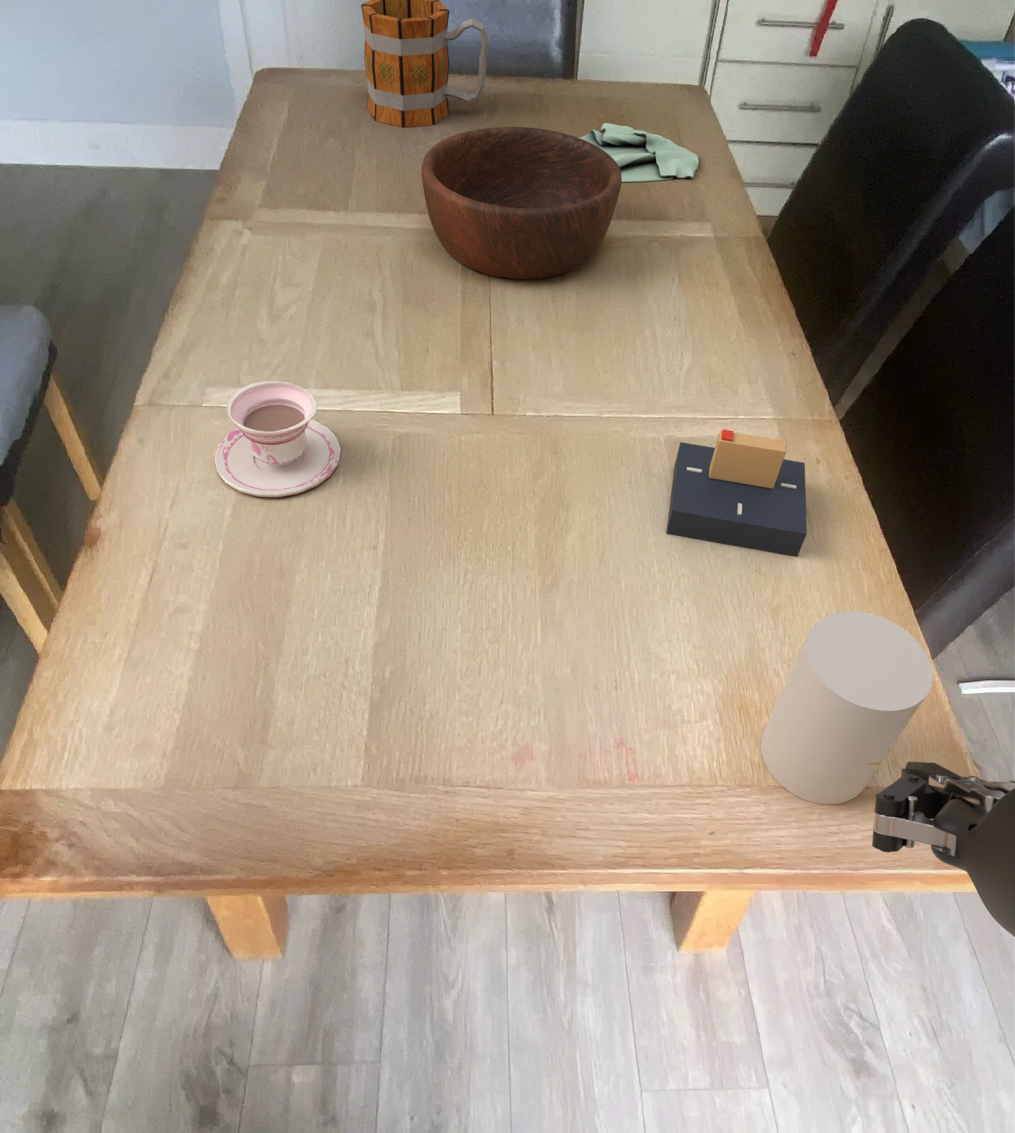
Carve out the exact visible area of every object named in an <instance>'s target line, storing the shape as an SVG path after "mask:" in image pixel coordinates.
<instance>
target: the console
mask: <svg viewBox="0 0 1015 1133" xmlns="http://www.w3.org/2000/svg"><path fill="white" fill-rule="evenodd" d="M714 450H715V447H712V446H707V445H700V444H694V443H689V442H682V441H680V442H679V444H678V450H677V453H676V454H677V455H676V459H675V462H674V466H673V467H674V468H673V474H672V475H673V477H672V484H671V493H670V500H669V509H668V517H667V526H666V531H665V532H666V534H667V535H672V536H679V537H684V538H689V539H690V538H691V539H694V540H701V541H707V542H712V543H717V544H718V543H719V544H724V545H729V546H735V547H740V548H746V549H752V550H757V551H763V552H769V553H775V554H780V555H786V556H791V557H798V556H799V554H800V551H801V550H802V547H803V544H804V542H805V539H806V538H807V534H808V530H807V529H808V527H807V526H808V525H807V524H808V523H807V495H806V494H807V492H806V464H805V462H802V461H797V460H791V459H786V458H784V460H783V463H782V465H781V468H780V471H779V474H778V477H777V480H776V482H775V485H774V488H773V489H771V488H766V487H760V486H754V485H748V484H742V483H736V482H730V481H724V480H718V479H713V478H709V469H710V464H711V461H712V457H713V453H714Z"/></svg>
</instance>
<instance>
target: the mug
mask: <svg viewBox="0 0 1015 1133" xmlns="http://www.w3.org/2000/svg"><path fill="white" fill-rule="evenodd" d="M360 8H361V14H362V21H363V32H364V66H365V73H366V81H367V84H366V85H367V103H366V105H367V106H366V108H367V110H368V112H369V114H370V116H371V117H372V118H373V120H374V121H375V122H379V123H382V124H383V123H384V124H388V125H391V126H394V127H400V128H413V127H423V126H424V127H425V126H432V125H436V124H437V123H439V122H440V121H442V120H443V119H444V118H446V117H447V116H448V115H450V108H449V101H448V100H449V99H448V97H449V98H455V99H458V100H460V101H464V102H465V103H470V102H472V101H474V100H478V99H479V98H480V96H481V94H482V92H483V90H484V88H485V84H486V74H487V58H488V57H487V56H488V50H489V42H490V41H489V37H488V34H487V31H486V26H485V24H484V23H482V22H480V21H479V20H477V19H476V18H470V19H467V20H464V21H462V22H461V23H460V24H458V26H457V27H456V28H455V29H454V30H452V31H449V30H448V27H449V19H450V10H449V9H448V7H446V6H445V4H443V2H442V1H441V0H368V1H365V2H363V3H361V4H360ZM470 28H474V29H476V30H477V31H479V33H480V39H481V45H480V50H479V56H478V75H477V85H476V88H475V90H474V91H472V92H469V93H467V92H465V91H463V90H460V89H458V88H453V87H449V86H448V80H449V71H450V70H449V69H450V57H449V46H448V44H449V43H448V42H449V41H455V40H457V39H458V38H459V37H460V36H461V35H462V34H463V33H464V32H465V31H466V30H468V29H470Z"/></svg>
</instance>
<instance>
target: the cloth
mask: <svg viewBox="0 0 1015 1133" xmlns="http://www.w3.org/2000/svg"><path fill="white" fill-rule="evenodd" d="M603 130H604V133H601V131H603ZM579 138H580V139H583V140H585V141H588V142H590V143H592V144H594V145H596V146H598V147H599V148H601V149H602V150H604V151H605V152H606V153H608V154H609V155H610V156H611V157H612V158H613V159H614V160H615V161H616V163H617V164H618V166H619V168H620V171H621V177H622V183H640V182H642V183H644V182H661V181H669V180H672V179H673V178H674V177H676V178H677V179H688V180H692V179H694V177H695V174H696V172H697V170H698V167H699V165H700V159H699V155H698V154H696V153H694V152H692V151H691V150H688V149H687V148H686V147H682V146H680V145H678V144H677V143H674V142H673V141H672V140H671V139H669V138H665V137H664V136H663V135H662V136H661V135H659V134H656V133H650V132H647V131H645V130H642V129H634V128H633V127H630V126H627V125H618V124H614V123H607V122H604V123H603V124H602V125H601V127H600V131H599V130H596V129H594V128H593V129H592V130H590V131H589V132H587V134H585V135H583V136H580V137H579Z"/></svg>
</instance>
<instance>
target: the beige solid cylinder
mask: <svg viewBox="0 0 1015 1133" xmlns="http://www.w3.org/2000/svg"><path fill="white" fill-rule="evenodd" d="M933 682H934V670H933V665H932V662H931V659H930V657H929V655H928V653H927V651H926V650H925V648H924V647H923V646H922V645H921V643H920V642H919V641H918V640H917V638H916V637H914V636H913V635H912V634H911V633H910V632H909V631H907V630H906V629H905V628H903V626H900V625H899V624H897V623H896V622H893V621H892V620H890V619H887V618H885V617H882V616H880V615H876V614H873V613H871V612H870V613H869V612H865V611H857V610H846V611H839V612H834V613H833V612H832V613H831V614H828V615H826V616H823V617H822V618H820V619H819V620H818V621H817V622H815V623H814V625H813V626H812V627H811V628H810V630H809V632H808V634H807V636H806V639H805V640H804V643H803V645H802V647H801V649H800V652H799V653H798V655H797V658H796V660H795V661H794V664H793V666H792V668H791V670H790V673H789V675H788V677H787V679H786V681H785V683H784V686H783V687H782V690H781V692H780V694H779V696H778V698H777V700H776V703H775V704H774V706H773V707H774V708H773V709H772V711H771V713H770V715H769V718H768V720H767V722H766V724H765V727H764V729H763V731H762V734H761V737H760V753H761V757H762V761H763V763H764V765H765V767H766V769H767V770H768V772H769V774H770V775H771V776H772V778H773V779H774V780H775V782H777V783H778V784H779V785H780V786H781V787H782V788H784V789H785V790H786V791H788V792H789V793H791V794H792V795H794V796H796V797H797V798H799V799H801V800H804V801H807V802H810V803H814V804H817V805H818V804H819V805H831V806H832V805H838V804H839V805H840V804H844V803H846V802H849V801H852V800H853V799H855V798H856V797H858V796H859V795H860V794H862V793H863V791H864V790H865V789H866V787H867V786H868V785H869V783H870V781H871V779H872V778H873V776H874V775H875V773H876V772H877V770H878V769H879V768H880V766H881V765H882V763H883V761H884V760H885V759H886V757H887V755H888V754H889V753H890V751H891V750H892V748H893V747H894V745H895V744H896V742H897V741H898V739H899V738H900V736H901V735H902V733H903V732H904V730H905V729H906V727H907V726H908V725H909V723H910V721H911V720H912V719H913V717H914V715H915V714H916V712H917V711H918V709H919V708H920V706H921V705H922V704H923V702H924V701H925V699H926V698H927V696H928V695H929V693H930V691H931V688H932V687H933Z"/></svg>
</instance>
